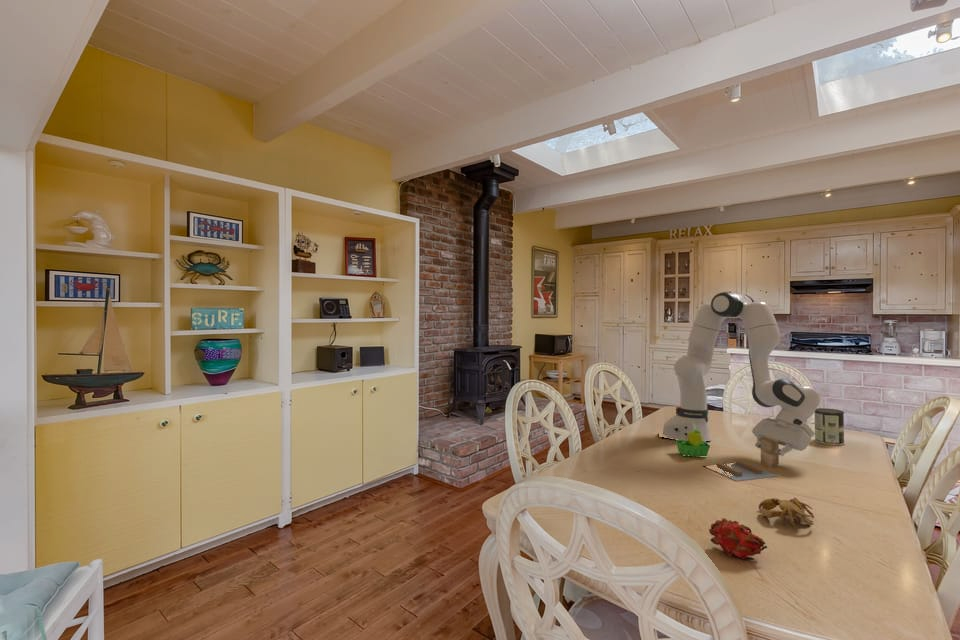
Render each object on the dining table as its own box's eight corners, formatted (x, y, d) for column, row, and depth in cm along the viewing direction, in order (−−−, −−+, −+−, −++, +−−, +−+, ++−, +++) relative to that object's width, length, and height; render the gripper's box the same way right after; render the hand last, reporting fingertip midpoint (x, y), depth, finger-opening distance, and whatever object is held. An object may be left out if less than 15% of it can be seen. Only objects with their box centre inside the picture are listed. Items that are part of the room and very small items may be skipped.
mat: (741, 461, 167) (741, 457, 167) (778, 476, 151) (778, 471, 151) (701, 465, 163) (701, 461, 163) (736, 481, 147) (736, 476, 147)
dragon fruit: (705, 550, 107) (762, 574, 100) (703, 542, 101) (763, 567, 94) (713, 516, 110) (768, 537, 103) (711, 507, 105) (770, 529, 97)
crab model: (760, 504, 130) (760, 486, 130) (814, 515, 122) (813, 496, 122) (755, 524, 117) (754, 503, 117) (814, 537, 110) (813, 516, 110)
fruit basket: (703, 452, 179) (702, 425, 179) (712, 459, 170) (712, 431, 170) (674, 452, 180) (674, 425, 180) (682, 459, 171) (682, 430, 171)
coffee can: (831, 438, 195) (831, 407, 195) (850, 445, 185) (850, 412, 185) (808, 439, 196) (808, 408, 196) (826, 445, 185) (826, 413, 185)
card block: (769, 462, 165) (769, 436, 165) (778, 466, 161) (778, 439, 161) (760, 463, 164) (760, 437, 164) (770, 467, 160) (769, 440, 160)
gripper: (760, 412, 175) (740, 437, 172) (809, 423, 155) (788, 453, 152) (769, 422, 176) (750, 448, 173) (819, 435, 156) (798, 464, 153)
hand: (768, 450), depth 163 cm, fingers open, 8 cm apart
